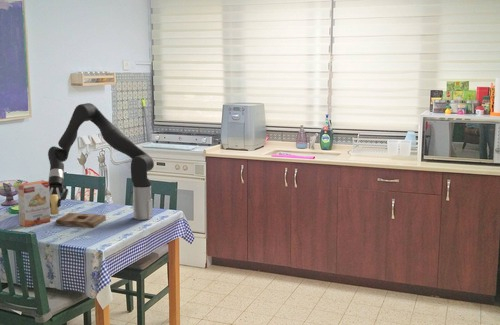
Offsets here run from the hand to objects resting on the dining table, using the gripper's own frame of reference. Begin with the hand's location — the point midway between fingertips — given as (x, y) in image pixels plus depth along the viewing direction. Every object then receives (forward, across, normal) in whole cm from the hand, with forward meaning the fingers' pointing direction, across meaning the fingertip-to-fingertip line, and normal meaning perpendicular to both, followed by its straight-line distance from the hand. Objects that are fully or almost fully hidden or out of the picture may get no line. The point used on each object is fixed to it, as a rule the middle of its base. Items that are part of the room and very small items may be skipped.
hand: (53, 206), depth 286 cm
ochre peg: (+2, 0, +4) cm, 5 cm away
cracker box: (+12, -8, -3) cm, 14 cm away
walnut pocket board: (+12, +14, -4) cm, 19 cm away
